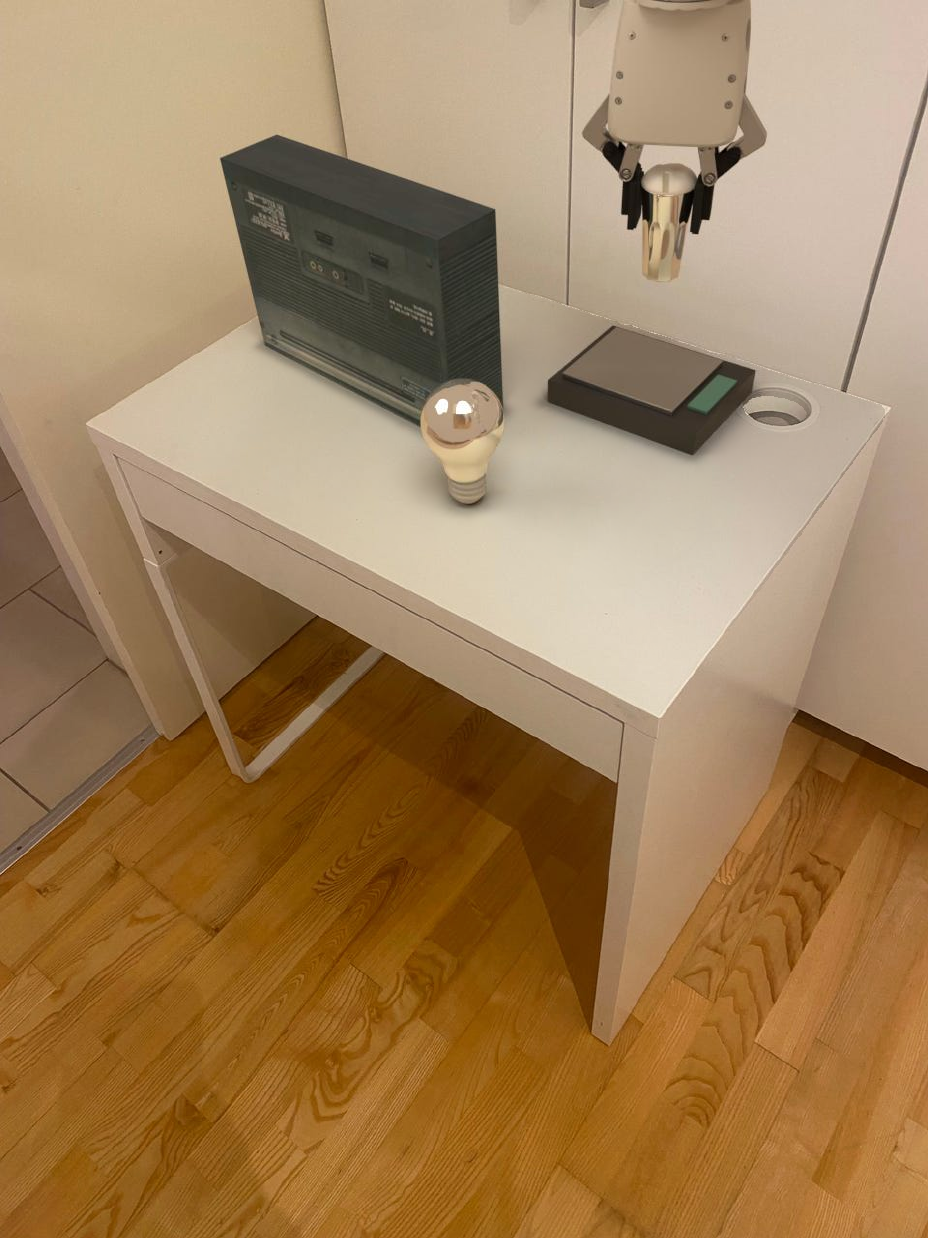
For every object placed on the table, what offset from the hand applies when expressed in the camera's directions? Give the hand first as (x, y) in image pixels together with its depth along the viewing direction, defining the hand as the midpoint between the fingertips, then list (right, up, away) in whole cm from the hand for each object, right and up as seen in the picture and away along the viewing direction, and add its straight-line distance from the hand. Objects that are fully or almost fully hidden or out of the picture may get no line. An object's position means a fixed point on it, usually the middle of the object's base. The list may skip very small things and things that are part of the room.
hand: (664, 222), depth 81 cm
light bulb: (-17, -23, +4) cm, 29 cm away
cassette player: (-26, -8, +19) cm, 33 cm away
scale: (+1, -12, +13) cm, 18 cm away
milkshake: (0, -3, +4) cm, 5 cm away
